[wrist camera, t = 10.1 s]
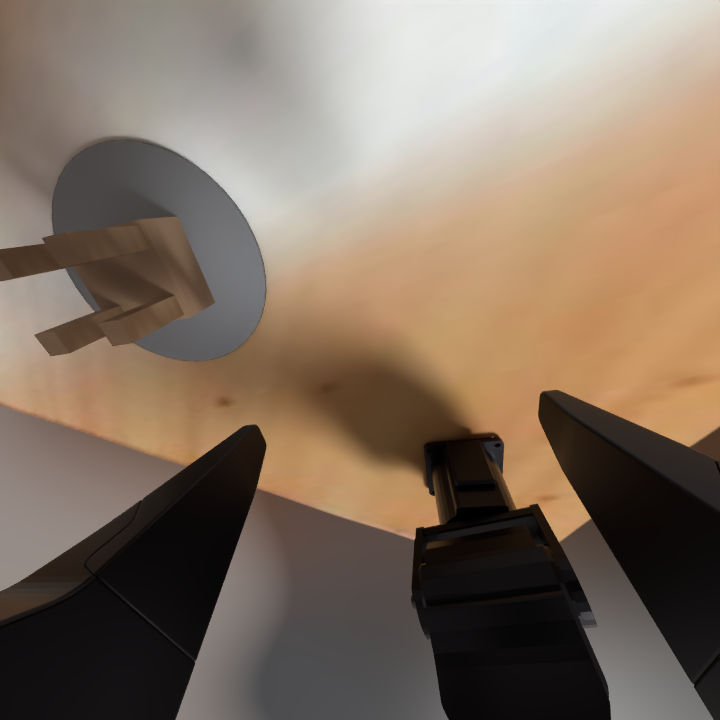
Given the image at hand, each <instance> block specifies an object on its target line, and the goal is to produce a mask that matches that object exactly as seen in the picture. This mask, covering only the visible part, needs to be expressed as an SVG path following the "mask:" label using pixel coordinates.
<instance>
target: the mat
mask: <svg viewBox="0 0 720 720" xmlns="http://www.w3.org/2000/svg"><path fill="white" fill-rule="evenodd" d="M177 216H178V218H179V221H180V223H181V225H182V227H183V230H184V232H185V234H186V237H187V239H188V241H189V243H190V246H191V248H192V250H193V253H194V255H195V257H196V259H197V262H198V264H199V266H200V269H201V271H202V273H203V275H204V278H205V280H206V282H207V284H208V287H209V289H210V291H211V294H212V296H213V298H214V300H215V303H214V304H212V305H211V306H209V307H207V308H206V309H204V310H202V311H201V312H199V313H197V314H195V315H194V316H192V317H190V318H186V319H180V320H174V321H172V322H170V323H168V324H166V325H164V326H163V327H161V328H159V329H157V330H155V331H154V332H152V333H150V334H148V335H146V336H145V337H143V338H141V339H139V340H137V341H136V342H134V343H135V344H137V345H138V346H140V347H142V348H144V349H146V350H148V351H151V352H153V353H156V354H158V355H161V356H164V357H168V358H172V359H177V360H183V361H206V360H211V359H216V358H219V357H222V356H224V355H227V354H229V353H230V352H232V351H234V350H236V349H237V348H238V347H239V346H241V345H242V344H243V343H244V342H245V341H246V340H247V339H248V338H249V337H250V336H251V334H252V333H253V332H254V330H255V328H256V327H257V325H258V323H259V321H260V318H261V316H262V313H263V309H264V305H265V298H266V275H265V269H264V263H263V259H262V256H261V252H260V249H259V246H258V244H257V241H256V239H255V236H254V234H253V232H252V230H251V228H250V226H249V224H248V222H247V220H246V219H245V217H244V216H243V214H242V213H241V211H240V210H239V208H238V207H237V205H236V204H235V203H234V201H233V200H232V199H231V198H230V197H229V195H228V194H227V193H226V192H225V191H224V190H223V189H222V188H221V187H220V186H219V185H218V184H217V183H216V182H215V181H214V180H213V179H212V178H211V177H210V176H209V175H207V174H206V173H205V172H203V171H202V170H201V169H200V168H198V167H197V166H196V165H194V164H192V163H191V162H189V161H187V160H186V159H184V158H183V157H181V156H179V155H177V154H174V153H172V152H170V151H168V150H166V149H163V148H159V147H156V146H153V145H150V144H146V143H140V142H133V141H109V142H104V143H99V144H96V145H94V146H91V147H89V148H87V149H85V150H83V151H82V152H80V153H79V154H78V155H76V156H75V157H74V158H73V159H72V160H71V161H70V162H69V163H68V164H67V165H66V167H65V168H64V170H63V172H62V173H61V175H60V177H59V179H58V182H57V184H56V187H55V190H54V196H53V202H52V223H53V232H54V235H56V234H60V233H64V232H74V231H84V230H95V229H103V228H107V227H111V226H115V225H119V224H123V223H127V222H131V221H135V220H139V219H149V218H163V217H177ZM66 270H67V272H68V274H69V276H70V278H71V279H72V281H73V283H74V285H75V286H76V288H77V289H78V291H79V292H80V293H81V295H82V296H83V298H84V299H85V300H86V302H87V303H88V304H89V305H90V306H91V307H92V309H93V310H94V311H95V312H97V311H99V310H101V309H100V308H99V306H98V305H97V303H96V301H95V300H94V298H93V297H92V295H91V294H90V292H89V290H88V289H87V287H86V286H85V284H84V283H83V281H82V280H81V278H80V276H79V275H78V273H77V272H76V270H75V269H74V267H68V268H66Z"/></svg>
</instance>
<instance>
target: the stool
mask: <svg viewBox="0 0 720 720" xmlns="http://www.w3.org/2000/svg"><path fill="white" fill-rule="evenodd" d="M42 239H43V241H44V242H45V244H40V245H32V246H24V247H16V248H7V249H0V281H5V280H10V279H15V278H20V277H25V276H29V275H34V274H39V273H44V272H49V271H54V270H59V269H63V268H68V267H74V269H75V270H76V272H77V273H78V275H79V276H80V278H81V280H82V281H83V283H84V284H85V286H86V287H87V289H88V290H89V292H90V294H91V295H92V297H93V298H94V300H95V301H96V303H97V305H98V306H99V308H100V309H101V310H99V311H97V312H94V313H91V314H89V315H86V316H83V317H81V318H78V319H75V320H73V321H70V322H67V323H65V324H62V325H59V326H57V327H54V328H51V329H49V330H46V331H44V332H41V333H38V334H36V335H35V337H36V338H37V339H38V340H39V342H40V343H41V344H42V346H43V347H44V348H45V349H46V351H47V352H48V353H49V354H50V356H55V355H61V354H67V353H71V352H73V351H75V350H77V349H79V348H82V347H84V346H86V345H88V344H90V343H92V342H94V341H96V340H98V339H100V338H103V337H105V336H106V337H107V338H108V340H109V341H110V343H111V344H112V346H117V345H123V344H129V343H134V342H136V341H137V340H139V339H141V338H143V337H145V336H146V335H148V334H150V333H152V332H154V331H155V330H157V329H159V328H161V327H163V326H164V325H166V324H168V323H170V322H172V321H174V320H180V319H186V318H190V317H192V316H194V315H195V314H197V313H199V312H201V311H202V310H204V309H206V308H207V307H209V306H211V305H212V304H214V303H215V300H214V298H213V296H212V294H211V291H210V289H209V287H208V284H207V282H206V280H205V278H204V275H203V273H202V271H201V269H200V266H199V264H198V262H197V259H196V257H195V255H194V253H193V250H192V248H191V246H190V243H189V241H188V239H187V237H186V234H185V232H184V230H183V227H182V225H181V223H180V221H179V218H178V216H177V217H163V218H149V219H139V220H135V221H131V222H127V223H123V224H119V225H115V226H111V227H107V228H103V229H95V230H84V231H74V232H64V233H60V234H56V235H52V236H48V237H44V238H42Z"/></svg>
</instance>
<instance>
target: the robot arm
mask: <svg viewBox="0 0 720 720" xmlns="http://www.w3.org/2000/svg"><path fill="white" fill-rule="evenodd" d="M538 417H539V421H540V423H541V425H542V428H543V430H544V432H545V434H546V436H547V438H548V441H549V443H550V445H551V447H552V449H553V451H554V454H555V456H556V458H557V460H558V462H559V464H560V466H561V468H562V470H563V472H564V474H565V475H566V477H567V479H568V480H569V482H570V484H571V485H572V487H573V489H574V490H575V492H576V493H577V495H578V497H579V498H580V500H581V502H582V503H583V505H584V507H585V508H586V510H587V512H588V513H589V515H590V516H591V518H592V520H593V521H594V523H595V525H596V526H597V528H598V530H599V531H600V533H601V535H602V536H603V538H604V539H605V541H606V543H607V544H608V546H609V548H610V549H611V551H612V553H613V554H614V556H615V558H616V559H617V561H618V562H619V564H620V565H621V567H622V569H623V571H624V572H625V574H626V575H627V577H628V579H629V580H630V582H631V584H632V585H633V587H634V589H635V590H636V592H637V593H638V595H639V596H640V599H641V600H642V602H643V604H644V605H645V607H646V608H647V610H648V612H649V613H650V615H651V617H652V618H653V620H654V622H655V623H656V625H657V627H658V628H659V630H660V631H661V633H662V635H663V636H664V638H665V640H666V641H667V643H668V645H669V646H670V648H671V649H672V651H673V653H674V654H675V656H676V658H677V659H678V661H679V663H680V664H681V666H682V667H683V669H684V671H685V672H686V674H687V676H688V677H689V679H690V681H691V682H692V683H693V684H695V685H694V688H695V689H696V691H697V693H698V694H699V696H700V698H701V699H702V701H703V703H704V704H705V706H706V708H707V709H708V711H709V712H710V714H711V716H712V717H713V719H714V720H720V461H719V460H717V461H715V459H714V458H712V457H710V456H708V455H706V454H703V453H701V452H699V451H697V450H694V449H692V448H690V447H687V446H685V445H683V444H681V443H678V442H676V441H674V440H671V439H669V438H667V437H664V436H662V435H660V434H658V433H655V432H653V431H651V430H648V429H646V428H644V427H642V426H639V425H637V424H635V423H632V422H630V421H628V420H626V419H623V418H621V417H619V416H616V415H614V414H612V413H609V412H607V411H605V410H603V409H600V408H598V407H596V406H593V405H591V404H589V403H587V402H584V401H582V400H580V399H577V398H575V397H573V396H571V395H568V394H566V393H564V392H561V391H559V390H550V391H543V392H542V393H541V394H540V399H539V411H538ZM496 443H498V444H496ZM429 448H432V449H429ZM265 452H266V442H265V439H264V437H263V435H262V433H261V431H260V429H259V427H258V426H257V425H255V424H254V425H246V426H243V427H242V428H240V429H239V430H238V431H236V432H235V433H234V434H232V435H231V436H229V437H228V438H227V439H225V440H224V441H222V442H221V443H220V444H218V445H217V446H215V447H214V448H213V449H211V450H210V451H208V452H207V453H206V454H204V455H203V456H202V457H200V458H199V459H197V460H196V461H195V462H193V463H192V464H190V465H189V466H188V467H186V468H185V469H183V470H182V471H181V472H179V473H178V474H177V475H175V476H174V477H172V478H171V479H170V480H168V481H167V482H165V483H164V484H163V485H162V486H160V487H158V488H157V489H156V490H154V491H153V492H152V493H150V494H149V495H147V496H146V497H145V498H144V499H143V500H141V501H139V502H138V503H136V504H135V505H133V506H132V507H131V508H129V509H128V510H126V511H125V512H124V513H122V514H121V515H119V516H118V517H116V518H115V519H113V520H112V521H111V522H109V523H108V524H106V525H105V526H103V527H102V528H100V529H99V530H98V531H96V532H94V533H93V534H91V535H90V536H89V537H87V538H85V539H84V540H82V541H81V542H79V543H78V544H76V545H75V546H73V547H72V548H70V549H69V550H67V551H66V552H64V553H63V554H61V555H60V556H58V557H57V558H55V559H54V560H52V561H51V562H49V563H48V564H46V565H45V566H43V567H41V568H40V569H38V570H37V571H36V572H34V573H32V574H31V575H29V576H28V577H26V578H25V579H23V580H21V581H20V582H18V583H16V584H14V585H12V586H11V587H9V588H7V589H5V590H2V591H0V720H175V719H176V717H177V714H178V711H179V708H180V705H181V702H182V699H183V697H184V694H185V691H186V688H187V685H188V683H189V680H190V677H191V674H192V671H193V668H194V666H195V662H194V661H196V659H197V657H198V654H199V651H200V648H201V645H202V642H203V639H204V637H205V634H206V630H207V628H208V625H209V622H210V620H211V617H212V614H213V611H214V608H215V605H216V603H217V600H218V597H219V594H220V591H221V588H222V586H223V583H224V580H225V577H226V574H227V571H228V569H229V566H230V563H231V560H232V557H233V554H234V552H235V549H236V546H237V543H238V540H239V537H240V535H241V532H242V529H243V526H244V523H245V520H246V517H247V515H248V511H249V509H250V506H251V503H252V500H253V498H254V495H255V491H256V488H257V484H258V480H259V476H260V472H261V468H262V464H263V460H264V456H265ZM424 453H425V462H426V470H427V478H428V486H429V493H430V494H431V495H433V496H435V498H436V504H437V510H438V516H439V522H440V525H436V526H431V527H426V528H424V527H420V528H416V538H415V541H414V558H413V573H412V574H413V575H412V597H411V602H412V606H413V608H414V609H415V610H416V611H417V613H418V617H419V621H420V624H421V627H422V630H423V632H424V634H425V636H426V638H427V639H428V640H429V641H431V643H432V648H433V653H434V659H435V665H436V671H437V677H438V684H439V691H440V697H441V703H442V706H443V709H444V711H445V713H446V715H447V717H448V719H449V720H611V713H610V701H609V692H608V685H607V682H606V679H605V677H604V675H603V672H602V670H601V668H600V666H599V663H598V661H597V659H596V656H595V654H594V652H593V649H592V647H591V645H590V642H589V640H588V638H587V635H586V633H585V631H584V628H591V627H597V623H596V620H595V618H594V615H593V613H592V610H591V608H590V605H589V603H588V601H587V598H586V596H585V594H584V592H583V589H582V587H581V585H580V583H579V581H578V579H577V577H576V575H575V573H574V570H573V568H572V566H571V564H570V562H569V561H568V558H567V557H566V555H565V553H564V551H563V549H562V547H561V545H560V544H559V542H558V540H557V538H556V536H555V535H554V533H553V531H552V529H551V527H550V525H549V524H548V522H547V520H546V518H545V516H544V515H543V513H542V511H541V509H540V507H539V505H538V504H533V505H529V506H530V507H526V508H521V509H516V507H515V504H514V502H513V500H512V497H511V495H510V493H509V490H508V488H507V485H506V483H505V481H504V478H503V476H502V473H503V453H504V443H503V441H502V439H501V438H498V437H495V438H482V439H470V440H458V441H445V442H433V443H427V444H425V445H424Z"/></svg>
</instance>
